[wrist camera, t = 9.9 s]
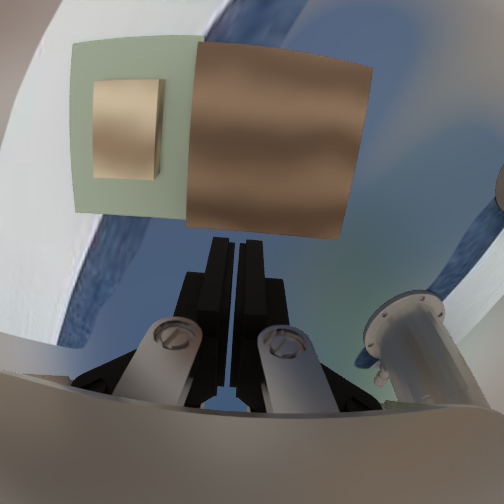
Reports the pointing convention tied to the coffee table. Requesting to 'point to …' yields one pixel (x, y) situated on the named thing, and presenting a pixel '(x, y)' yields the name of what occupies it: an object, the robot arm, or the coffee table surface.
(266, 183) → the walnut board
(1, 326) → the coffee table surface
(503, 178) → the beige canister
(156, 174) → the maple tile
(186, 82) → the rubber mat
